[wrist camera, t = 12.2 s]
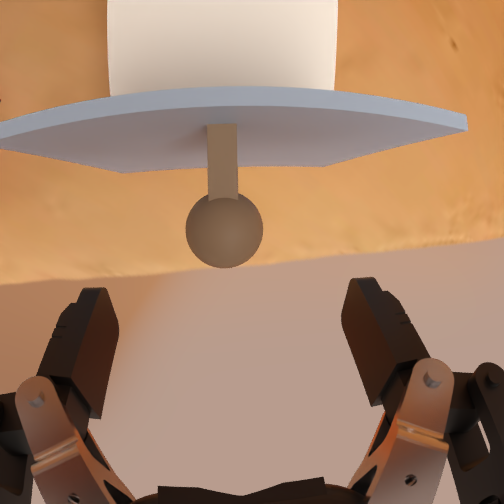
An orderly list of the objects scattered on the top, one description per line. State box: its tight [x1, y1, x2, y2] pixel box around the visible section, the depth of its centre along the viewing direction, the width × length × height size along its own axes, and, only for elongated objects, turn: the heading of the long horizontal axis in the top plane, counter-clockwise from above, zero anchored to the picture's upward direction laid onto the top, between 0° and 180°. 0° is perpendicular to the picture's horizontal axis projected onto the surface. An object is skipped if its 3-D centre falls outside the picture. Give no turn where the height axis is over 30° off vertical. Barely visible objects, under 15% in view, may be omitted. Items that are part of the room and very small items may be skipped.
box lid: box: [0, 86, 468, 268], centre depth 17 cm, size 18×17×6 cm
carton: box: [107, 0, 338, 97], centre depth 25 cm, size 20×18×10 cm
